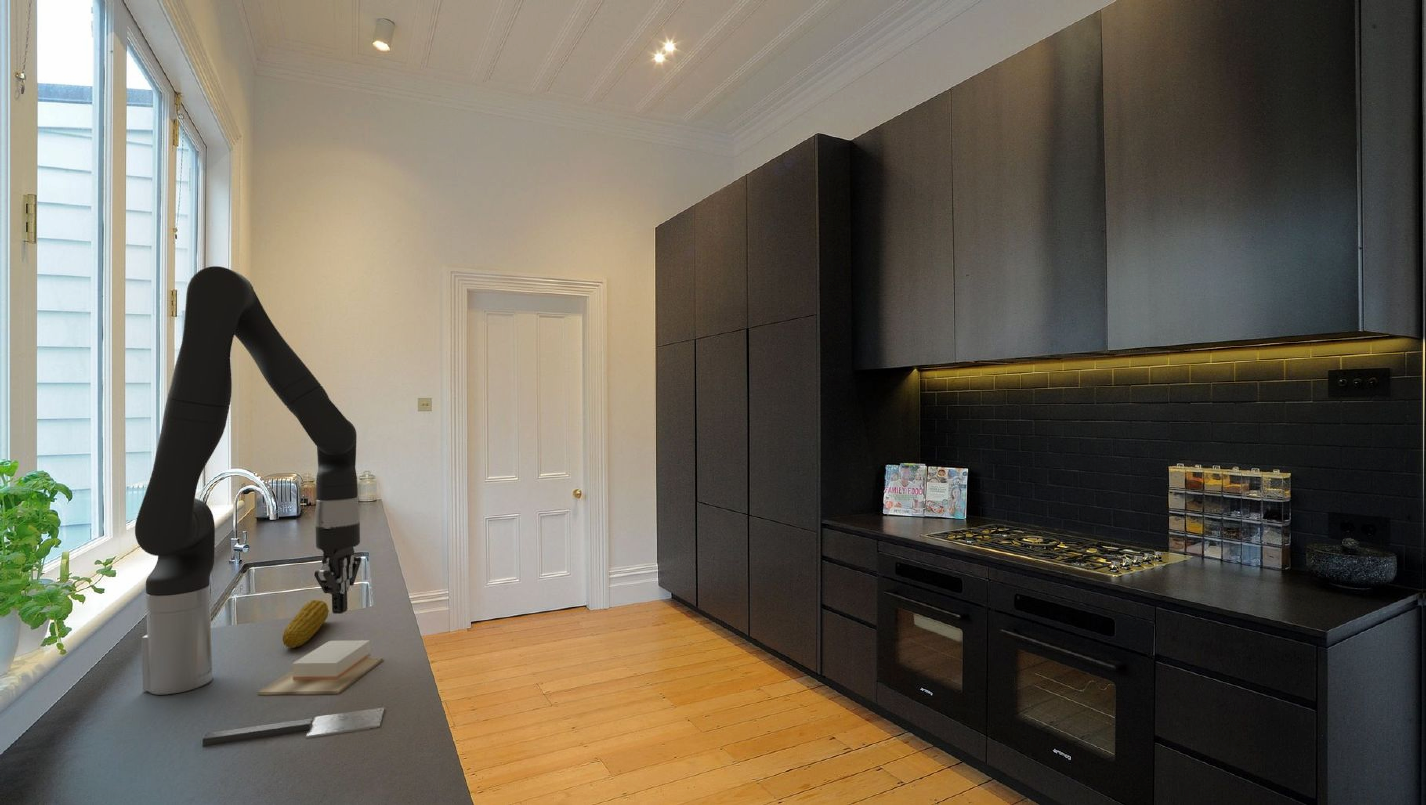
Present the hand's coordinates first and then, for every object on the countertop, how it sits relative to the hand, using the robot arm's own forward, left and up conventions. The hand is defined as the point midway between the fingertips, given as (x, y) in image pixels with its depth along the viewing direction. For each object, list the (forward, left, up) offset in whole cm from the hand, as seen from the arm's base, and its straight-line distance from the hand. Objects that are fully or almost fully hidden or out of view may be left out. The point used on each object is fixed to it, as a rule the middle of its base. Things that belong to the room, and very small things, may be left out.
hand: (339, 612), depth 139 cm
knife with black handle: (+8, -27, -10) cm, 30 cm away
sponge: (0, +3, -8) cm, 9 cm away
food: (-17, +17, -10) cm, 26 cm away
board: (0, -6, -10) cm, 12 cm away
